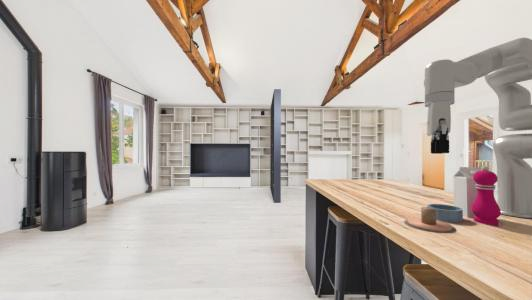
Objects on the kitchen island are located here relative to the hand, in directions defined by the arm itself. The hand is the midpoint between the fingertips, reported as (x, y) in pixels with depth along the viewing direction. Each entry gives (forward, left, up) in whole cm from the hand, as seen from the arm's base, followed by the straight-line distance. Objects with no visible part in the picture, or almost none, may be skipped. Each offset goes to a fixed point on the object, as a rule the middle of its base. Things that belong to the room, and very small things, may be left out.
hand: (439, 153), depth 70 cm
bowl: (-8, -13, -25) cm, 29 cm away
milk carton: (-20, -19, -25) cm, 37 cm away
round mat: (+2, -3, -25) cm, 25 cm away
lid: (+2, -3, -24) cm, 24 cm away
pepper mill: (-19, -10, -25) cm, 33 cm away
